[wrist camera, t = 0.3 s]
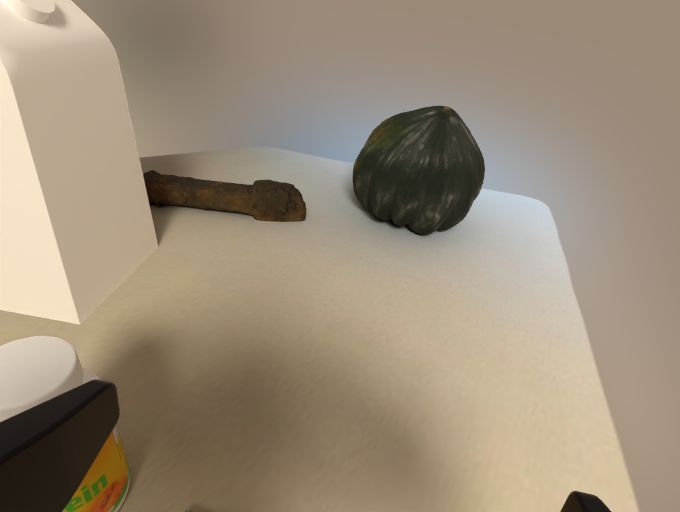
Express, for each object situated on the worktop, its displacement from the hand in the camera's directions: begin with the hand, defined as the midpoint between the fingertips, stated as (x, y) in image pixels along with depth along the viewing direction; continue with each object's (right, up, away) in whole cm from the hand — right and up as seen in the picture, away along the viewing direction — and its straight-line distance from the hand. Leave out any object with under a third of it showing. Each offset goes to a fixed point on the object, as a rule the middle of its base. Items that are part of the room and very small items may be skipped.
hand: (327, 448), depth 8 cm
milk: (-25, +2, +31) cm, 40 cm away
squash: (+9, +8, +46) cm, 48 cm away
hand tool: (-13, +9, +44) cm, 47 cm away
